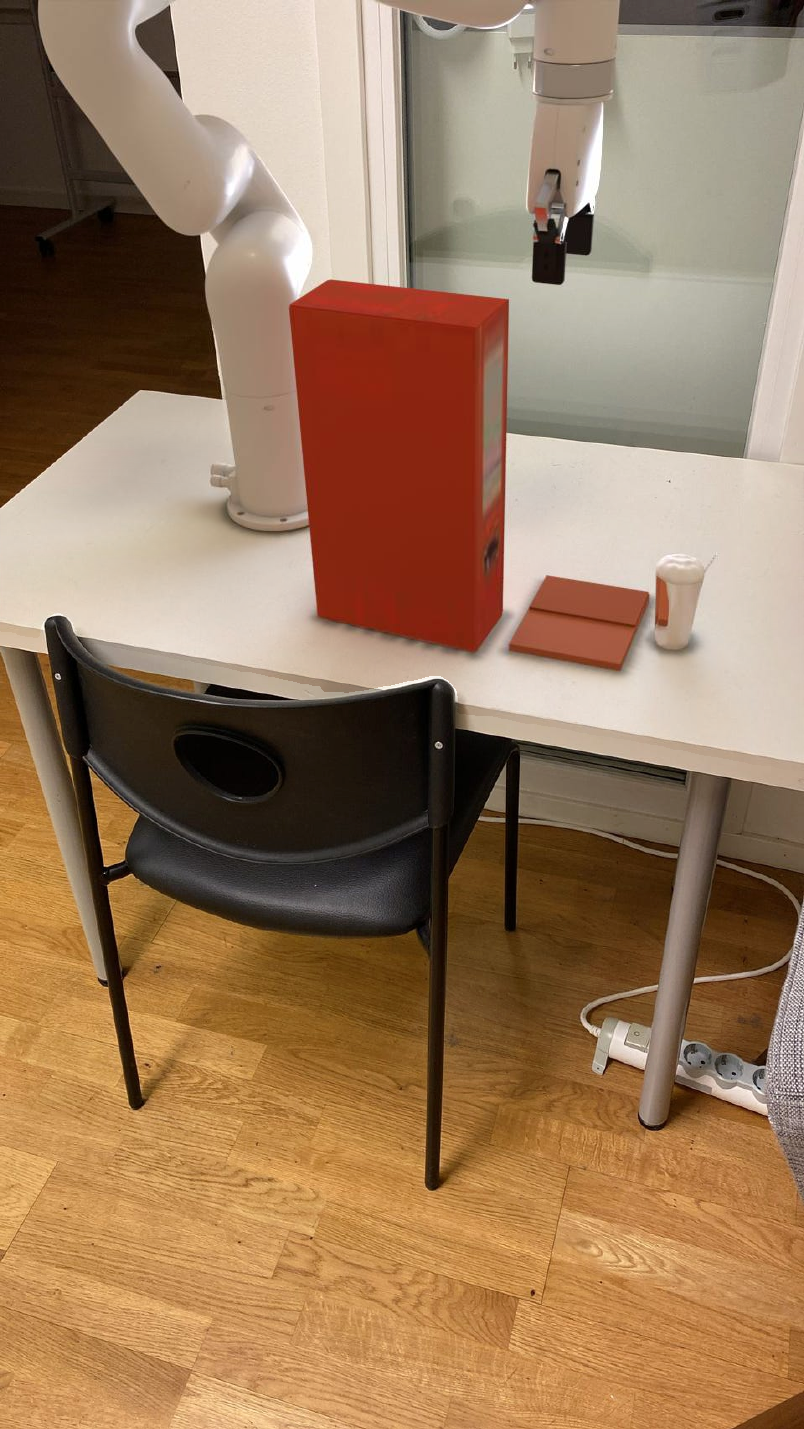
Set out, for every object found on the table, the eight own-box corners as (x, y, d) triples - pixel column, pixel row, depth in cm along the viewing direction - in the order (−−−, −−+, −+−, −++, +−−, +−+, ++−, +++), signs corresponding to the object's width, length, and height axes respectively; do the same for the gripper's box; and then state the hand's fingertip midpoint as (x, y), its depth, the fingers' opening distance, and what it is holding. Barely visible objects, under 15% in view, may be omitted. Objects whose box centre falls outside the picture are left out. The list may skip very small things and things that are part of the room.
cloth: (508, 650, 115) (508, 641, 114) (545, 583, 124) (545, 574, 124) (620, 671, 111) (620, 661, 111) (649, 600, 121) (650, 591, 120)
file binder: (353, 580, 126) (330, 277, 107) (503, 612, 120) (509, 297, 101) (317, 619, 121) (286, 306, 101) (474, 654, 114) (473, 329, 95)
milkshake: (703, 656, 113) (716, 566, 107) (646, 652, 114) (656, 562, 108) (704, 630, 116) (716, 541, 110) (648, 626, 117) (658, 538, 111)
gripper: (561, 61, 117) (551, 240, 127) (504, 96, 104) (499, 291, 115) (635, 65, 114) (619, 246, 125) (586, 101, 102) (574, 299, 112)
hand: (562, 267), depth 120 cm, fingers open, 9 cm apart
